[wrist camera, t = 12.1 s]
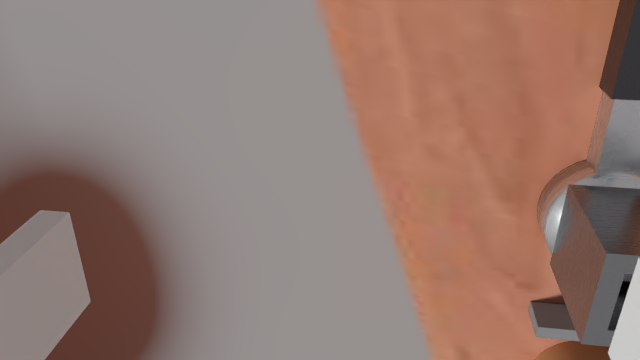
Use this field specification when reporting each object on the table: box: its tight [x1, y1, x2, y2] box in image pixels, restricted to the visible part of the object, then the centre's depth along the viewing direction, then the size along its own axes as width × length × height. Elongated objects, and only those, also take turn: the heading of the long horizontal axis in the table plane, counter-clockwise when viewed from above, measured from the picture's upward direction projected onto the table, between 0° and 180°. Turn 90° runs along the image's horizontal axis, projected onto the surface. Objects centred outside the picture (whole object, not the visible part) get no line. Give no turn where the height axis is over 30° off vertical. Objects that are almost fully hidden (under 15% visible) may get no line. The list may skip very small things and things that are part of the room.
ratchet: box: [537, 0, 640, 282], centre depth 34 cm, size 21×8×7 cm, turn 0°
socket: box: [550, 184, 640, 347], centre depth 34 cm, size 6×6×8 cm
